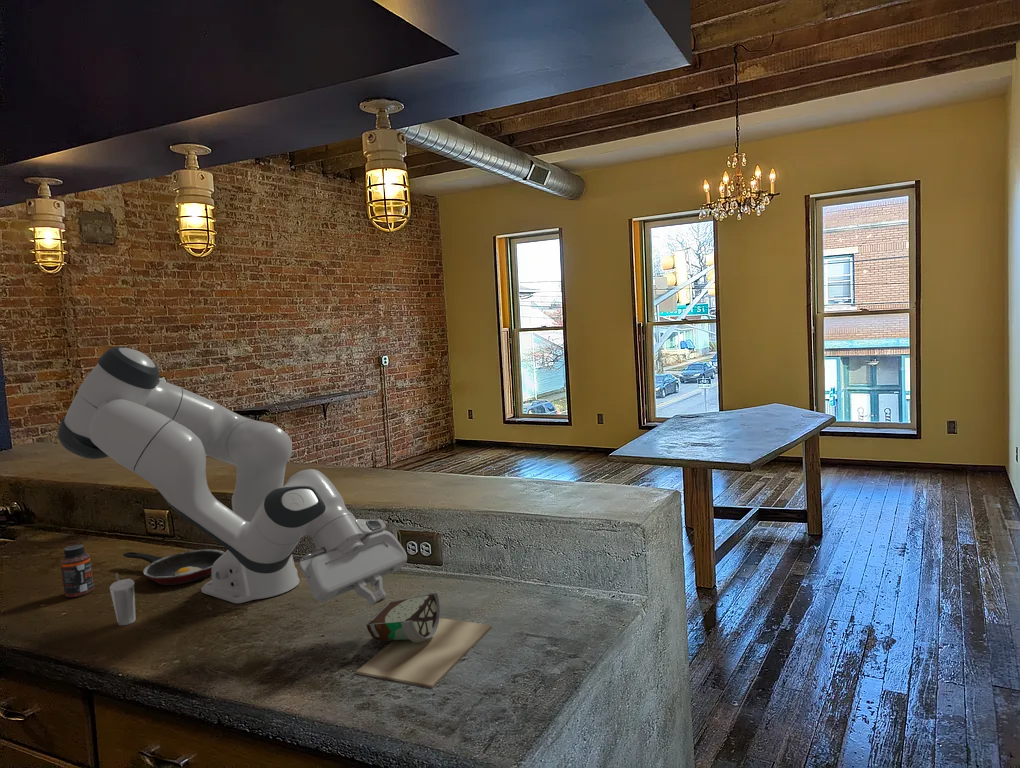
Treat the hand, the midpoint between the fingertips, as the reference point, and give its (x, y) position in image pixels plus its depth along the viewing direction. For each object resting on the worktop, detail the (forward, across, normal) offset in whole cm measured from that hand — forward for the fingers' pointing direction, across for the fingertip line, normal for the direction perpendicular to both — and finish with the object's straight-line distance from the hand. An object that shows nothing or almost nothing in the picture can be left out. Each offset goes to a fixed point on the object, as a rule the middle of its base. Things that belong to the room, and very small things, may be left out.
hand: (379, 601), depth 126 cm
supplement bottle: (-53, -23, +65) cm, 87 cm away
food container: (+3, +1, +5) cm, 6 cm away
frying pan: (-50, -4, +61) cm, 79 cm away
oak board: (+12, +3, -1) cm, 12 cm away
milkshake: (-33, -23, +45) cm, 61 cm away
